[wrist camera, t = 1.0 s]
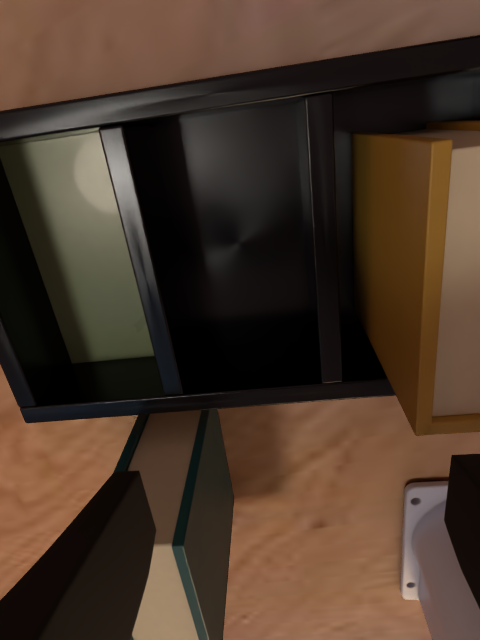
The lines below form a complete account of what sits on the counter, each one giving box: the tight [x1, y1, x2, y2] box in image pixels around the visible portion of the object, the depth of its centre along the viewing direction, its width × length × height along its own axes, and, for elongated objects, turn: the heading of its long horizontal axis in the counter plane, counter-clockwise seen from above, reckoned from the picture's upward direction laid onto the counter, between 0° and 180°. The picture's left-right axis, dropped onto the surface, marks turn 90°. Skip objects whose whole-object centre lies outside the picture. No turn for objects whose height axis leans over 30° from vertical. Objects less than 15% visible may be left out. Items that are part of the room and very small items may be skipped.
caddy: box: [0, 35, 480, 423], centre depth 16 cm, size 11×19×4 cm, turn 98°
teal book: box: [114, 409, 234, 640], centre depth 19 cm, size 8×3×8 cm, turn 7°
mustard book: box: [351, 121, 480, 436], centre depth 13 cm, size 7×3×8 cm, turn 8°
